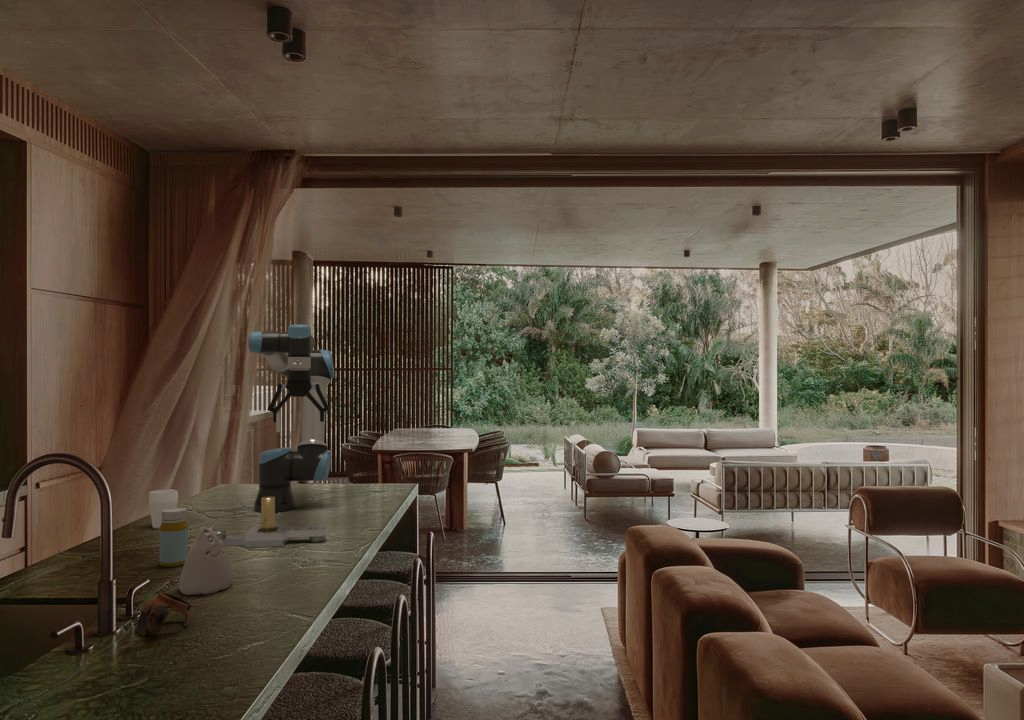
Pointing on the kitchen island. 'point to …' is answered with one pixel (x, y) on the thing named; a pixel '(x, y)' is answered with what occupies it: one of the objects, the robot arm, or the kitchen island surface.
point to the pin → (268, 514)
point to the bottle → (173, 537)
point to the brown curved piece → (160, 612)
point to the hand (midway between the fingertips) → (298, 431)
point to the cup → (161, 504)
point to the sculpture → (206, 565)
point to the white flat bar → (273, 536)
